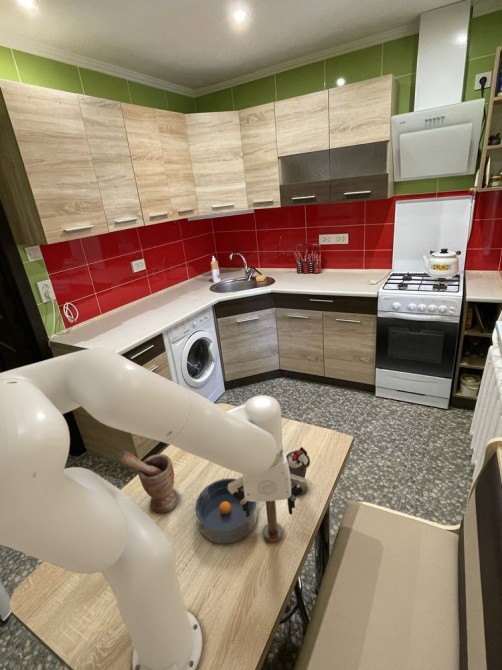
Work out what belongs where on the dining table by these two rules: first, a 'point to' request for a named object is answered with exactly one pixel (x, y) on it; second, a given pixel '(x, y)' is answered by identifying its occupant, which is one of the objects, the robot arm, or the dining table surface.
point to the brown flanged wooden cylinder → (272, 524)
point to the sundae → (298, 464)
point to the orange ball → (225, 507)
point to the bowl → (219, 524)
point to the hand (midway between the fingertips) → (268, 510)
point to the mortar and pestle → (155, 479)
